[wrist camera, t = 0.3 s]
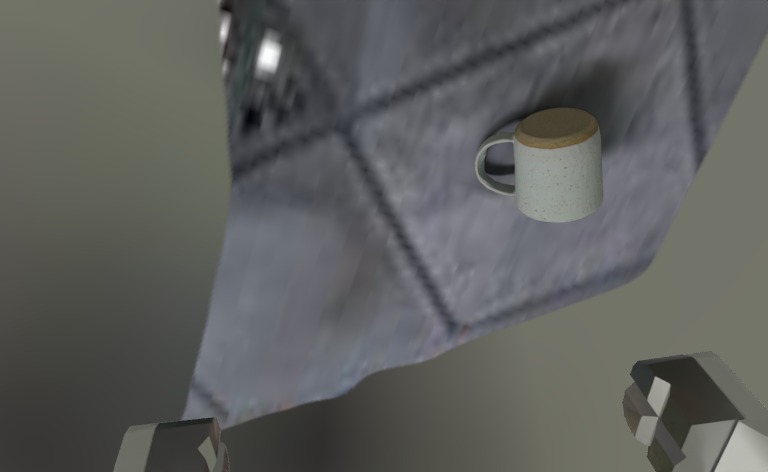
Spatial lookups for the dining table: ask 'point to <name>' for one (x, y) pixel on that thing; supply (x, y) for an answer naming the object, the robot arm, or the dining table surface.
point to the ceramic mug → (552, 165)
